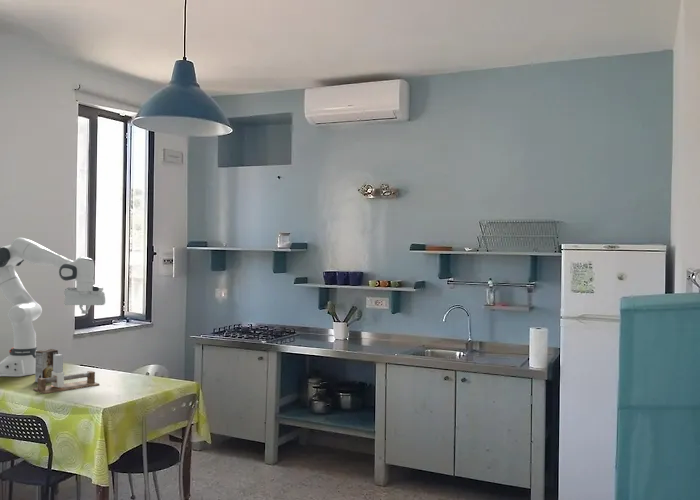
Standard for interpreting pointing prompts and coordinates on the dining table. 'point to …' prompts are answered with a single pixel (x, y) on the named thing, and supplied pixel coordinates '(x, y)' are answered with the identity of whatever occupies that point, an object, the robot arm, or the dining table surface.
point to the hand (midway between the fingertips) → (84, 313)
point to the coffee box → (44, 363)
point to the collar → (58, 370)
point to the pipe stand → (68, 386)
